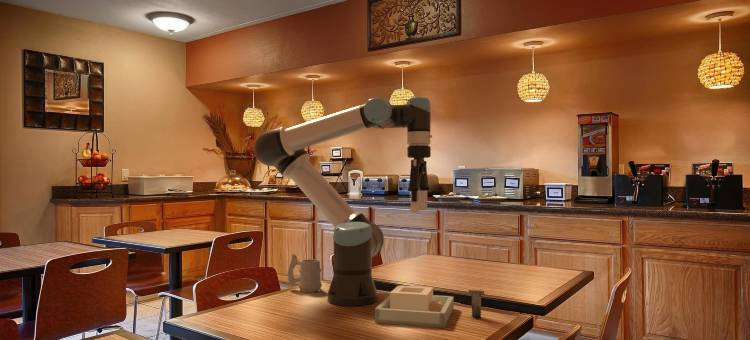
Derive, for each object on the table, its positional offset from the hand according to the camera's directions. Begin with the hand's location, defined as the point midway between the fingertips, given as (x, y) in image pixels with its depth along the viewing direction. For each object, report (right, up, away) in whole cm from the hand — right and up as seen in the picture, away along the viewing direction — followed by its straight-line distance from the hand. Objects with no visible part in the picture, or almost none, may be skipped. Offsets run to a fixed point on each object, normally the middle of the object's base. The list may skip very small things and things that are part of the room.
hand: (419, 211), depth 169 cm
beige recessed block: (-3, -25, -26) cm, 37 cm away
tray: (-3, -26, -26) cm, 37 cm away
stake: (+13, -26, -29) cm, 41 cm away
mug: (-38, -27, +6) cm, 47 cm away
